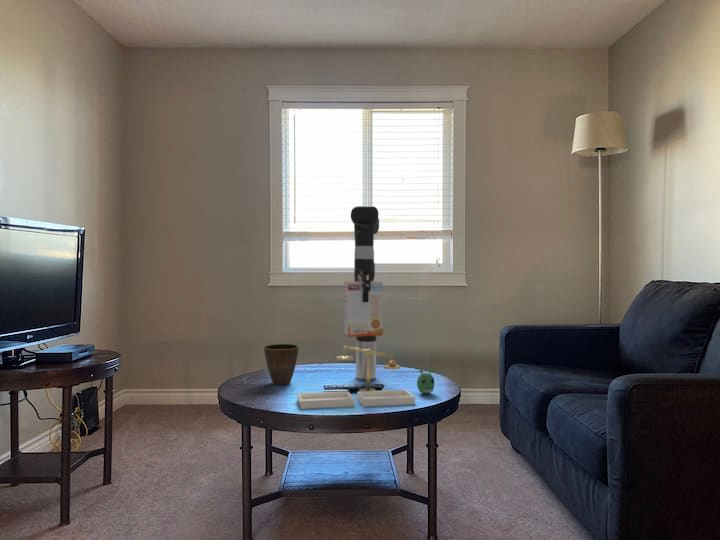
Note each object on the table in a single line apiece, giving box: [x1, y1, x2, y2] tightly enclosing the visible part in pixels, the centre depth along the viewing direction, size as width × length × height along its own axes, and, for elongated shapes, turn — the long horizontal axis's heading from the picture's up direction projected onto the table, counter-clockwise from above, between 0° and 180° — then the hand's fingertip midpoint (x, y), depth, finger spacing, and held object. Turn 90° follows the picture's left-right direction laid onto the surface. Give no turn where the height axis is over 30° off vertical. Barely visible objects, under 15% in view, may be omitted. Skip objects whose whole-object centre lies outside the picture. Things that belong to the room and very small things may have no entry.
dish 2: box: [356, 389, 416, 407], centre depth 198 cm, size 12×20×3 cm, turn 102°
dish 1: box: [297, 390, 355, 410], centre depth 194 cm, size 12×20×3 cm, turn 102°
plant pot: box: [263, 343, 300, 386], centre depth 226 cm, size 15×15×16 cm
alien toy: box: [416, 368, 435, 395], centre depth 210 cm, size 7×8×10 cm
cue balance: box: [335, 345, 402, 392], centre depth 209 cm, size 7×27×20 cm, turn 102°
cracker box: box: [343, 280, 384, 338], centre depth 200 cm, size 14×6×21 cm, turn 108°
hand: (363, 301), depth 200 cm, fingers closed on cracker box, 6 cm apart
